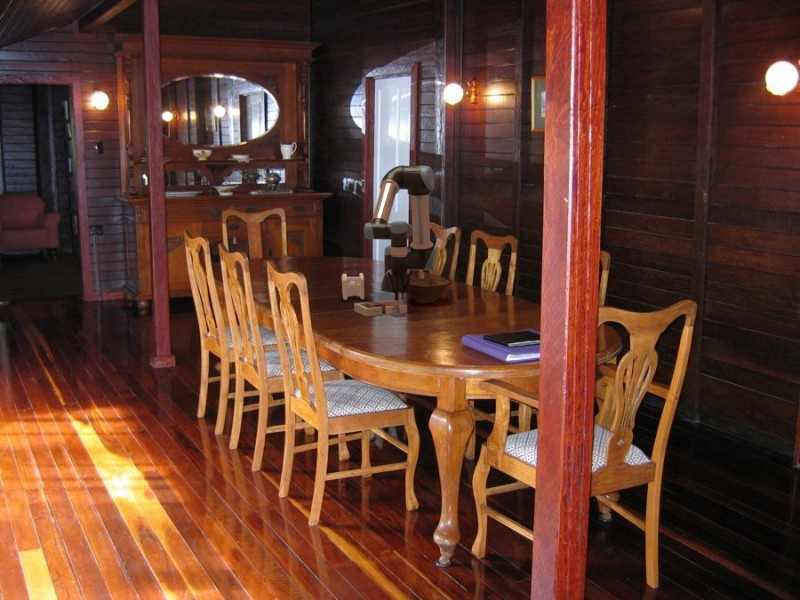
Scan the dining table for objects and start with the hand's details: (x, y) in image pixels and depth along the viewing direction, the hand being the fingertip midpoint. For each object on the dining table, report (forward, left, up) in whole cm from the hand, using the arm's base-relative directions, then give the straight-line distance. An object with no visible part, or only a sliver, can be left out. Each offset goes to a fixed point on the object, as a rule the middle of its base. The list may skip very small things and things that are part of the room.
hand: (399, 307), depth 421 cm
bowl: (-21, -13, -2) cm, 25 cm away
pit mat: (+5, +11, -1) cm, 12 cm away
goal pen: (+16, 0, -1) cm, 16 cm away
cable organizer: (+8, -35, -2) cm, 36 cm away
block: (+12, +1, -2) cm, 12 cm away
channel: (+5, 0, -1) cm, 5 cm away
